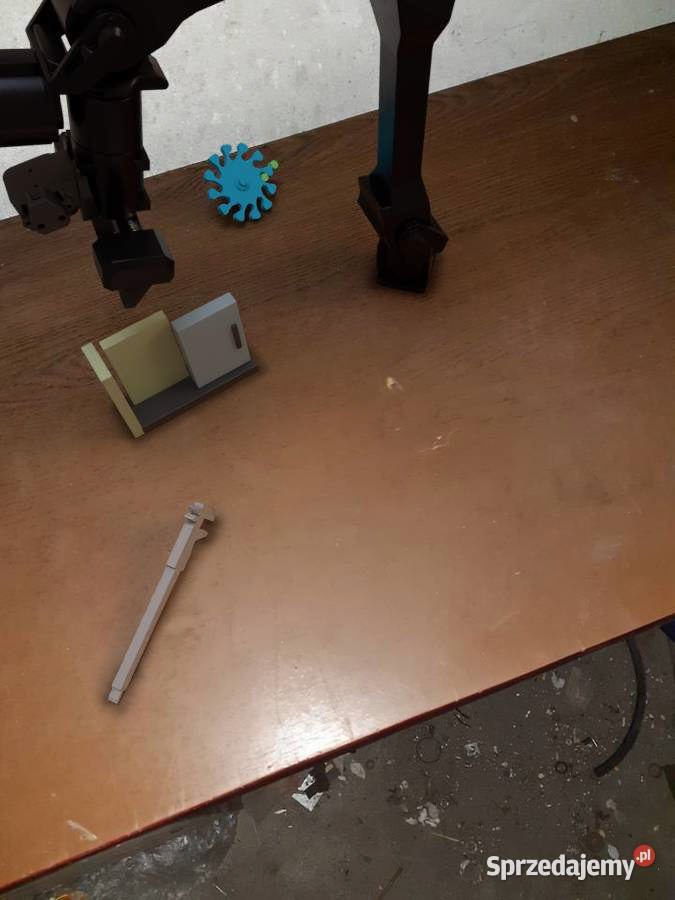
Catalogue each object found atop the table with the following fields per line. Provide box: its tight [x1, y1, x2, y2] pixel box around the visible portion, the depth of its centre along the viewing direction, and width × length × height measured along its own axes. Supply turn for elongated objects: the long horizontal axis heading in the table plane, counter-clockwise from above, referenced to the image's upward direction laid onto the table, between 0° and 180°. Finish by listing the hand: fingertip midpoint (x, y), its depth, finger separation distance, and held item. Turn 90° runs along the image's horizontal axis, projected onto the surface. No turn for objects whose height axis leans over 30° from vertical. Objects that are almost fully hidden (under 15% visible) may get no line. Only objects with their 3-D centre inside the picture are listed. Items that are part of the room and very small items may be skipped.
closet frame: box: [80, 309, 260, 439], centre depth 76 cm, size 16×5×12 cm, turn 124°
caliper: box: [107, 501, 216, 705], centre depth 67 cm, size 20×1×6 cm, turn 158°
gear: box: [202, 142, 279, 223], centre depth 94 cm, size 11×6×10 cm
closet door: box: [170, 291, 250, 388], centre depth 76 cm, size 7×2×11 cm, turn 124°
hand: (116, 274), depth 70 cm, fingers open, 9 cm apart
